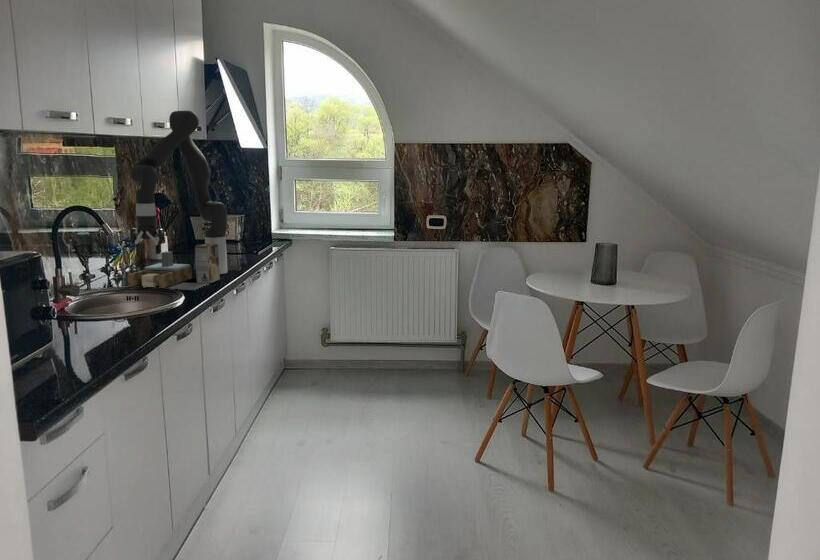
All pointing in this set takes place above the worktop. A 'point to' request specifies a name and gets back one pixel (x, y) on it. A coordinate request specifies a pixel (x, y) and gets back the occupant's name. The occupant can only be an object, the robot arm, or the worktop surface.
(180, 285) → the mat
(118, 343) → the worktop surface
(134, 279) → the organiser
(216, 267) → the coffee box
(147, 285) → the block
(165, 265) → the lid
